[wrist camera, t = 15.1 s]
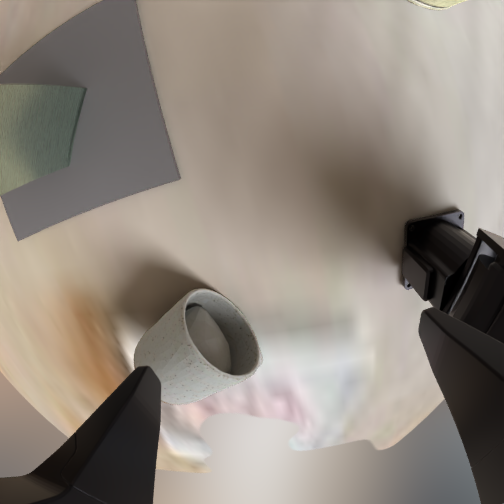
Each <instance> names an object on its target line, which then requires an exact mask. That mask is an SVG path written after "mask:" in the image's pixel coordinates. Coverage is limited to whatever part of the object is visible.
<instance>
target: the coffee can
mask: <svg viewBox="0 0 504 504" xmlns="http://www.w3.org/2000/svg"><path fill="white" fill-rule="evenodd" d="M408 1H410V2H411V3H413V4H416V5H418V6H421V7H424V8H427V9H432V10H444V9H448V8H450V7H451V6H453V5H456V4H458V3H461V2H464V1H467V0H408Z"/></svg>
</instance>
